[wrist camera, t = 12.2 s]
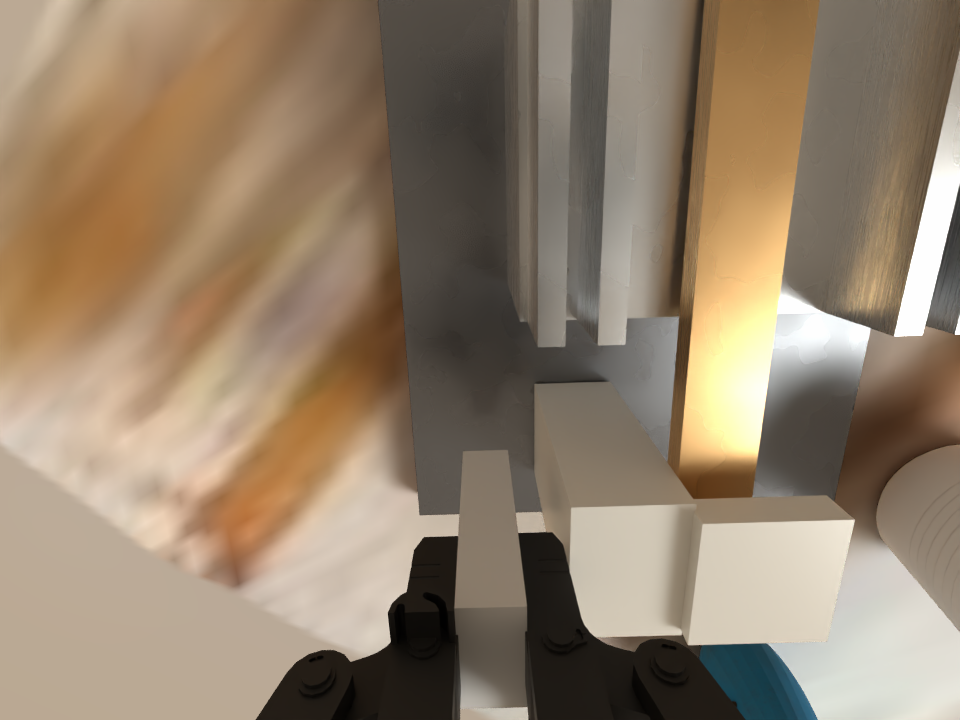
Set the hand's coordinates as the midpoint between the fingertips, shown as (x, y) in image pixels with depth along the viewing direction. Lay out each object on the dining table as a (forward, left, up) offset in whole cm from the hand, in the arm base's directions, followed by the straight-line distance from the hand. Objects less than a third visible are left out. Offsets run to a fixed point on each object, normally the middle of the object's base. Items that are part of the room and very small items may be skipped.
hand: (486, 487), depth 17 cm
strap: (-9, +6, +2) cm, 11 cm away
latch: (0, +5, -4) cm, 7 cm away
